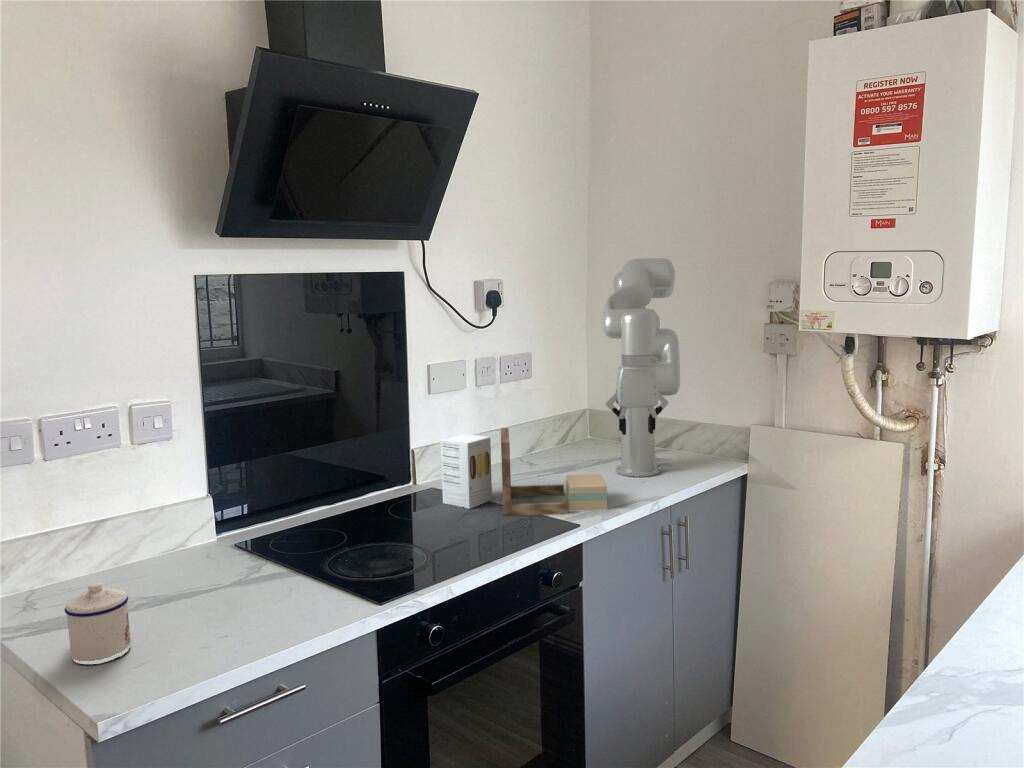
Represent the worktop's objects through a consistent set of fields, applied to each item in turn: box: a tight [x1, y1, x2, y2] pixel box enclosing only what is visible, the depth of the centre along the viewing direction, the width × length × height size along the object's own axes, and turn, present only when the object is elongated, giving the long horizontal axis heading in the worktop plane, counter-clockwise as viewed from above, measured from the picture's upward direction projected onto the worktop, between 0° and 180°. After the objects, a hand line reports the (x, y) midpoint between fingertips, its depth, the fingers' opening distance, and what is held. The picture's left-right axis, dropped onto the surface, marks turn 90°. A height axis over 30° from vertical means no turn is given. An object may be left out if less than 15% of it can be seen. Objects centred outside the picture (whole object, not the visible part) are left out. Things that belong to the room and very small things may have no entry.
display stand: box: [500, 427, 571, 517], centre depth 208 cm, size 16×17×18 cm
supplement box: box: [440, 433, 493, 510], centre depth 211 cm, size 10×9×17 cm
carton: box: [565, 473, 608, 511], centre depth 209 cm, size 9×12×6 cm
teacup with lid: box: [64, 582, 132, 661], centre depth 133 cm, size 12×9×12 cm
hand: (637, 432), depth 207 cm, fingers open, 6 cm apart
